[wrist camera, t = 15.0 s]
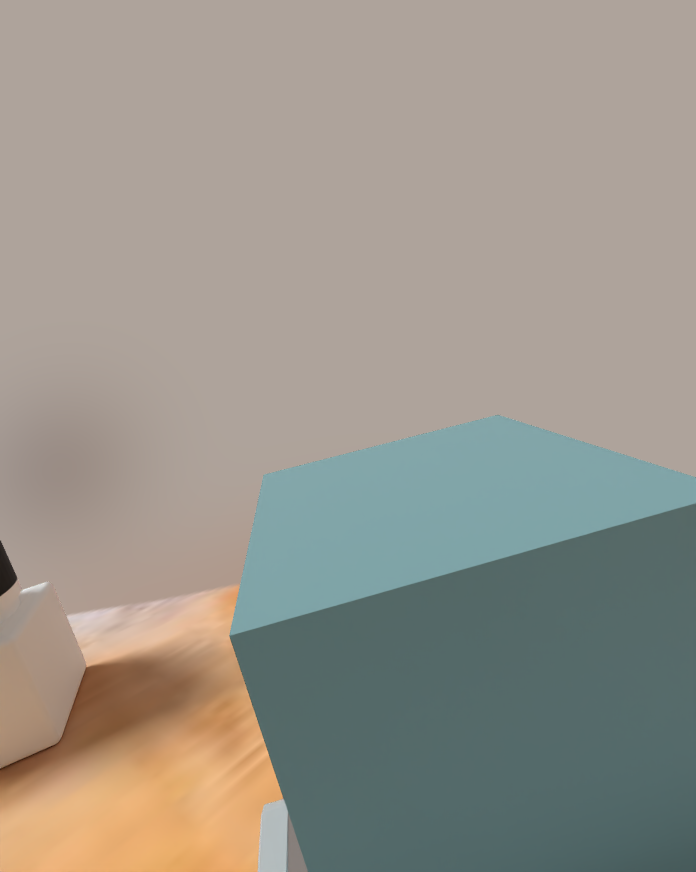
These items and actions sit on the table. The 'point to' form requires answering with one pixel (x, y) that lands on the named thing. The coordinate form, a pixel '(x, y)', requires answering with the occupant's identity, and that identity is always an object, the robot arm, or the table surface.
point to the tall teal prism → (477, 654)
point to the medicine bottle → (34, 666)
